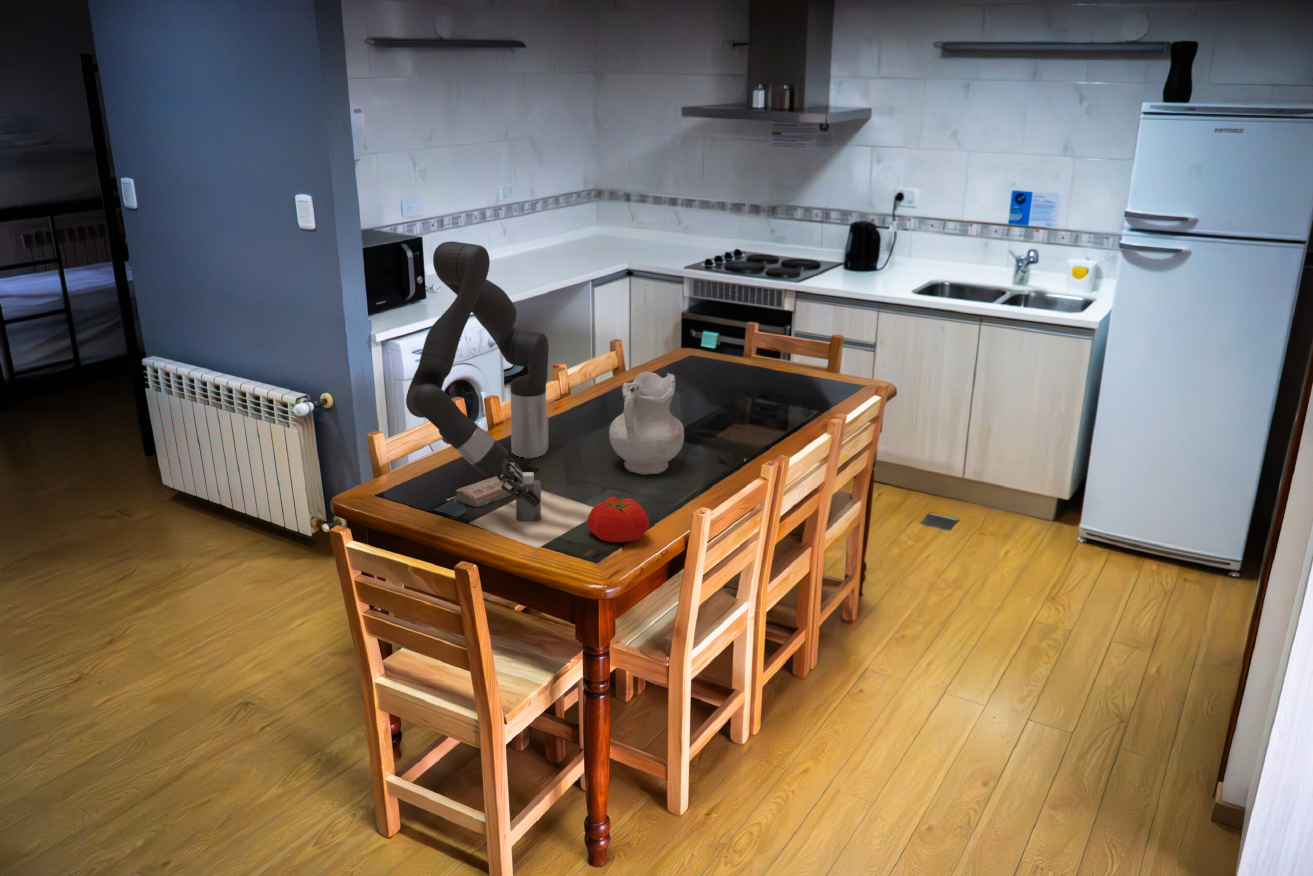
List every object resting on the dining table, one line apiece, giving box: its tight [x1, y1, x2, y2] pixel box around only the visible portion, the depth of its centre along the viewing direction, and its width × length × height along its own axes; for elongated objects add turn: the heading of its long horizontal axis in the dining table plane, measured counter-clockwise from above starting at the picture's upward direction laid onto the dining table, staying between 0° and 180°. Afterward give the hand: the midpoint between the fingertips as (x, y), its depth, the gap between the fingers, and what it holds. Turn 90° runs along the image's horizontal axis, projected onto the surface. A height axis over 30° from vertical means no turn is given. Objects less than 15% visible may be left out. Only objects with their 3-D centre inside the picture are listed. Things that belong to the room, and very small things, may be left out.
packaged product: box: [446, 475, 512, 508], centre depth 239 cm, size 18×5×10 cm
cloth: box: [468, 489, 595, 549], centre depth 230 cm, size 24×20×1 cm
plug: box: [515, 471, 542, 521], centre depth 226 cm, size 3×6×11 cm, turn 96°
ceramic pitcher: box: [608, 370, 685, 476], centre depth 258 cm, size 22×20×25 cm
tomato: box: [586, 496, 650, 544], centre depth 223 cm, size 14×13×9 cm
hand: (537, 500), depth 227 cm, fingers closed on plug, 3 cm apart
